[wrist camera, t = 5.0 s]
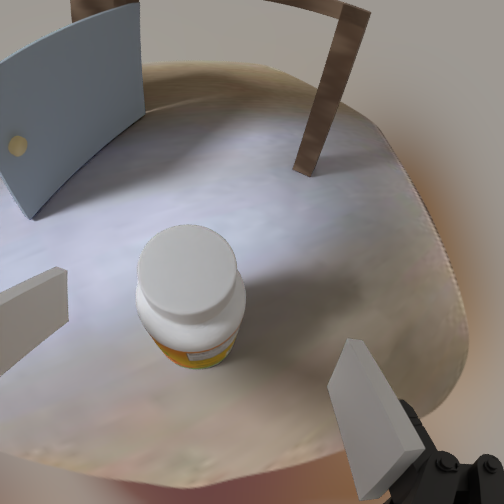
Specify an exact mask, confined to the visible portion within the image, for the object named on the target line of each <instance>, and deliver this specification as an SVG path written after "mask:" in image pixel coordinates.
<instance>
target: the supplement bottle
mask: <svg viewBox="0 0 504 504" xmlns="http://www.w3.org/2000/svg"><path fill="white" fill-rule="evenodd" d="M137 277H138V284H137V288H136V308H137V312H138V315H139V318H140V320H141V322H142V324H143V326H144V327H145V329H146V330H147V332H148V333H149V334H150V336H151V337H152V339H153V340H154V341H155V343H156V344H157V345H158V347H159V348H160V349H161V350H162V352H163V353H164V354H165V355H166V356H167V357H168V358H169V359H170V360H171V361H172V362H174V363H175V364H177V365H179V366H181V367H184V368H187V369H194V370H199V369H206V368H210V367H212V366H215V365H216V364H218V363H220V362H221V361H222V360H223V359H224V358H225V357H226V356H227V355H228V354H229V352H230V351H231V349H232V347H233V345H234V342H235V339H236V336H237V333H238V331H239V328H240V324H241V321H242V319H243V316H244V312H245V306H246V291H245V286H244V282H243V279H242V277H241V275H240V273H239V271H238V270H237V262H236V258H235V255H234V252H233V250H232V248H231V247H230V245H229V244H228V242H227V241H226V240H225V239H224V238H223V237H222V236H220V235H219V234H218V233H216V232H214V231H213V230H211V229H208V228H206V227H202V226H198V225H179V226H174V227H171V228H168V229H166V230H163V231H161V232H160V233H158V234H157V235H155V236H154V237H153V238H152V239H151V240H150V241H149V242H148V243H147V244H146V246H145V247H144V249H143V250H142V252H141V254H140V257H139V260H138V265H137Z"/></svg>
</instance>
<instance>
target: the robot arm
mask: <svg viewBox="0 0 504 504" xmlns="http://www.w3.org/2000/svg"><path fill="white" fill-rule="evenodd" d="M68 321H69V319H68V294H67V270H64V269H62V268H59V267H54V268H52V269H50V270H47V271H45V272H43V273H41V274H39V275H37V276H34V277H32V278H30V279H28V280H26V281H24V282H22V283H20V284H18V285H16V286H13V287H11V288H9V289H7V290H5V291H3V292H1V293H0V377H1V376H2V375H3V374H4V373H5V372H6V371H8V370H9V369H10V368H11V367H12V366H14V365H15V364H16V363H17V362H18V361H20V360H21V359H22V358H23V357H24V356H26V355H27V354H28V353H29V352H30V351H32V350H33V349H34V348H35V347H37V346H38V345H39V344H40V343H42V342H43V341H44V340H45V339H47V338H48V337H49V336H50V335H52V334H53V333H54V332H55V331H57V330H58V329H59V328H61V327H62V326H63V325H64V324H66V323H67V322H68ZM327 388H328V392H329V395H330V398H331V402H332V405H333V408H334V412H335V415H336V419H337V422H338V425H339V429H340V432H341V436H342V439H343V443H344V446H345V450H346V453H347V457H348V461H349V464H350V468H351V472H352V475H353V479H354V483H355V487H356V490H357V494H358V498H359V501H362V500H371V499H378V498H380V497H381V496H382V495H383V494H384V493H385V492H386V491H387V490H388V489H389V491H390V494H391V497H390V498H389V499H388V500H387V501H386V502H385V503H383V504H504V470H503V466H502V464H501V462H500V461H499V460H498V458H496V457H495V456H493V455H489V454H483V455H482V456H480V457H479V458H478V459H477V460H476V461H475V463H474V464H460V463H459V461H458V459H457V458H456V457H455V456H454V455H452V454H450V453H448V452H445V451H437V449H436V447H435V445H434V443H433V442H432V440H431V438H430V437H429V435H428V433H427V431H426V430H425V428H424V427H423V426H422V423H421V421H420V419H418V416H417V414H416V413H415V411H414V409H413V408H412V407H411V406H410V405H409V404H408V403H407V402H405V401H404V400H398V398H397V397H396V395H395V393H394V391H393V390H392V388H391V386H390V385H389V383H388V381H387V380H386V378H385V376H384V375H383V373H382V371H381V370H380V368H379V366H378V365H377V363H376V361H375V360H374V358H373V356H372V355H371V353H370V352H369V350H368V348H367V347H366V345H365V343H364V342H363V340H358V339H351V338H347V340H346V343H345V345H344V348H343V350H342V353H341V355H340V358H339V360H338V362H337V365H336V367H335V369H334V372H333V374H332V376H331V378H330V381H329V383H328V385H327Z"/></svg>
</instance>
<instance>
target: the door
mask: <svg viewBox="0 0 504 504" xmlns="http://www.w3.org/2000/svg"><path fill="white" fill-rule="evenodd" d="M145 114H146V113H145V103H144V92H143V79H142V64H141V43H140V2H139V3H130V4H126V5H123V6H119V7H116V8H113V9H110V10H106V11H103V12H101V13H98V14H95V15H92V16H89V17H87V18H84V19H82V20H79V21H77V22H74V23H72V24H69V25H67V26H65V27H63V28H60V29H58V30H56V31H54V32H52V33H50V34H48V35H46V36H44V37H42V38H40V39H38V40H36V41H34V42H32V43H30V44H28V45H27V46H25V47H23V48H21V49H20V50H18V51H16V52H15V53H13V54H11V55H9V56H8V57H7V58H5V59H3V60H2V61H0V176H1V178H2V180H3V182H4V184H5V185H6V187H7V189H8V190H9V192H10V194H11V195H12V197H13V199H14V200H15V202H16V204H17V205H18V207H19V208H20V210H21V211H22V213H23V214H24V216H25V217H26V218H28V219H29V220H31V219H32V217H33V216H34V215H35V214H36V213H37V212H38V210H39V209H40V208H41V207H42V206H43V205H44V204H45V203H46V202H47V201H48V199H49V198H50V197H51V196H52V195H53V194H54V193H55V192H56V191H57V190H58V189H59V188H60V187H61V186H62V185H63V184H64V183H65V182H66V181H67V180H68V179H69V178H70V177H71V176H72V175H73V174H74V173H75V172H76V171H77V170H78V169H79V168H80V167H82V166H83V165H84V164H85V163H86V162H87V161H88V160H89V159H90V158H91V157H93V156H94V155H95V154H96V153H97V152H98V151H99V150H101V149H102V148H103V147H104V146H105V145H106V144H108V143H109V142H110V141H111V140H112V139H114V138H115V137H116V136H117V135H119V134H120V133H121V132H122V131H124V130H125V129H126V128H127V127H129V126H130V125H131V124H133V123H134V122H135V121H137V120H138V119H139V118H141V117H142V116H143V115H145Z"/></svg>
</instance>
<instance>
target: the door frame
mask: <svg viewBox="0 0 504 504" xmlns="http://www.w3.org/2000/svg"><path fill="white" fill-rule="evenodd" d="M265 1H271V2H276V3H281V4H285V5H290V6H294V7H298V8H302V9H306V10H309V11H313V12H317V13H320V14H323V15H327V16H330V17H333V18H336V19H339V21H338V25H337V28H336V31H335V34H334V38H333V41H332V44H331V48H330V51H329V54H328V57H327V61H326V64H325V67H324V71H323V74H322V77H321V80H320V84H319V87H318V90H317V93H316V97H315V100H314V103H313V106H312V109H311V113H310V116H309V119H308V122H307V125H306V129H305V132H304V135H303V138H302V141H301V144H300V147H299V151H298V154H297V157H296V160H295V163H294V166H293V170H295V171H297V172H300V173H302V174H304V175H306V176H309V177H311V174H312V172H313V170H314V168H315V166H316V164H317V161H318V158H319V156H320V153H321V151H322V148H323V146H324V143H325V140H326V138H327V135H328V132H329V130H330V127H331V124H332V122H333V119H334V116H335V114H336V111H337V108H338V106H339V103H340V100H341V97H342V94H343V92H344V89H345V87H346V84H347V81H348V78H349V75H350V73H351V70H352V67H353V64H354V61H355V59H356V56H357V53H358V50H359V47H360V44H361V41H362V38H363V36H364V33H365V30H366V27H367V24H368V20H369V18H370V14H371V12H369V11H367V10H364V9H362V8H359V7H356V6H353V5H350V4H347V3H344V2H341V1H338V0H265ZM70 3H71V16H72V23H74V22H77V21H79V20H82V19H84V18H87V17H89V16H92V15H95V14H98V13H101V12H103V11H106V10H110V9H113V8H116V7H119V6H123V5H126V4H130V3H139V0H70Z"/></svg>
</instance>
